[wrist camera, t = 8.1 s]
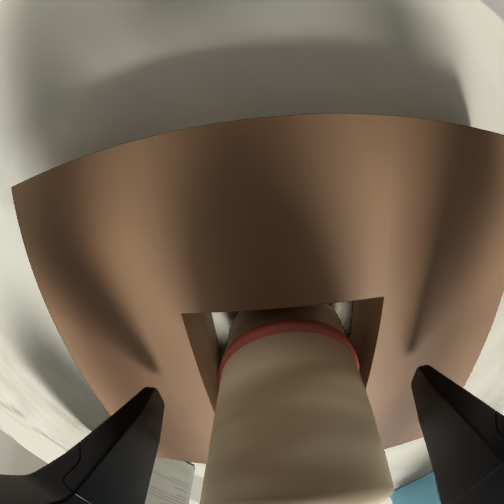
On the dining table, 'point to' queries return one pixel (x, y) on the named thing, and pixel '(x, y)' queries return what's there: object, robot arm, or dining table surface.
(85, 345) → the walnut board
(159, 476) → the supplement box
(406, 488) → the vase
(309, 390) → the beech peg
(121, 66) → the dining table surface
